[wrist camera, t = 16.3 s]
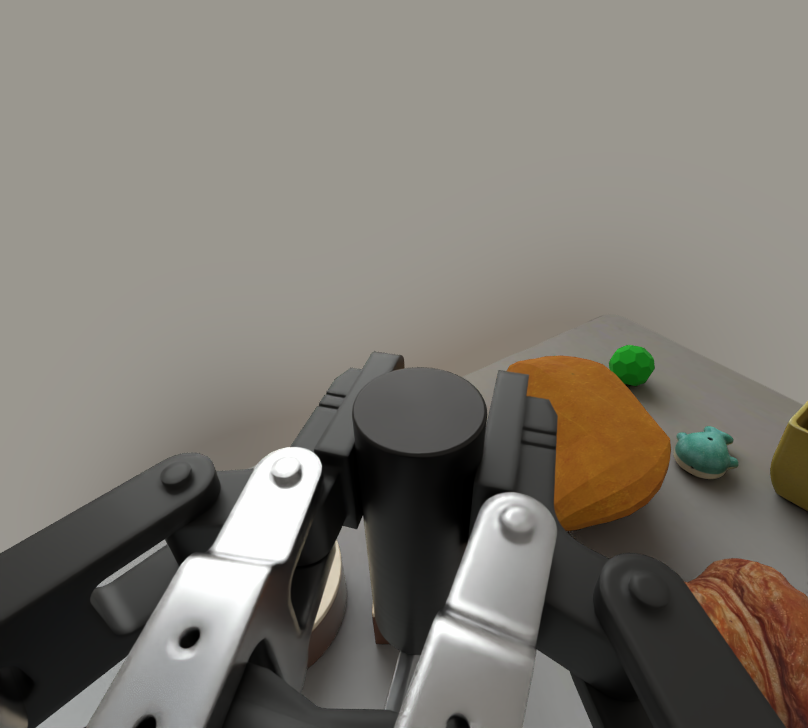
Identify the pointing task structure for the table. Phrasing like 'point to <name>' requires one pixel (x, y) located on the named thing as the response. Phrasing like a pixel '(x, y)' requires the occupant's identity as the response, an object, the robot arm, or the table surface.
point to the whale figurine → (705, 453)
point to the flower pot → (792, 461)
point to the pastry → (761, 629)
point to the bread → (597, 441)
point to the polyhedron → (632, 364)
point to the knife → (415, 499)
